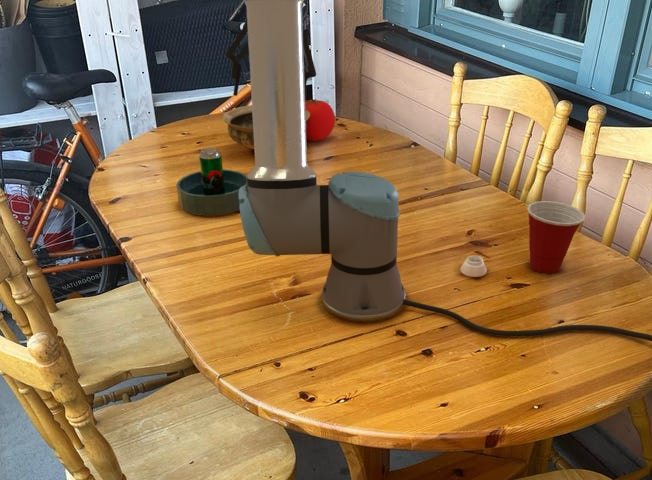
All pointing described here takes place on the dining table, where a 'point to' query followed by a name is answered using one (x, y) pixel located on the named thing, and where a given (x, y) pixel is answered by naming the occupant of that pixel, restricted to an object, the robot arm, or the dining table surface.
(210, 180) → the soda can
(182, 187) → the glazed bowl
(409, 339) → the dining table surface
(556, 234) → the plastic cup
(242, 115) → the ceramic bowl
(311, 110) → the tomato
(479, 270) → the lidless jar
